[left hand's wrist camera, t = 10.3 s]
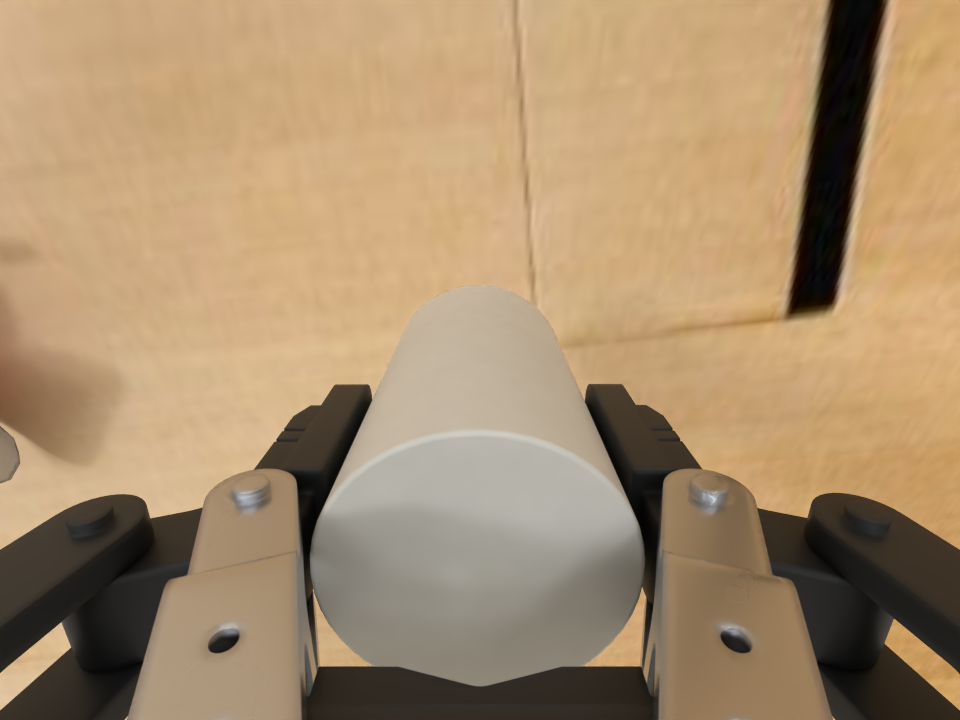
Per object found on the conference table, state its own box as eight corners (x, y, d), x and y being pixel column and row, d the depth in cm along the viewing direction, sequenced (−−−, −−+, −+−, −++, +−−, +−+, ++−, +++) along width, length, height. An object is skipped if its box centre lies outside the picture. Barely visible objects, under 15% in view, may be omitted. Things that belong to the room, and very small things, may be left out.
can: (462, 462, 17) (446, 737, 9) (364, 348, 15) (235, 551, 7) (590, 380, 16) (707, 607, 8) (497, 249, 14) (520, 360, 6)
